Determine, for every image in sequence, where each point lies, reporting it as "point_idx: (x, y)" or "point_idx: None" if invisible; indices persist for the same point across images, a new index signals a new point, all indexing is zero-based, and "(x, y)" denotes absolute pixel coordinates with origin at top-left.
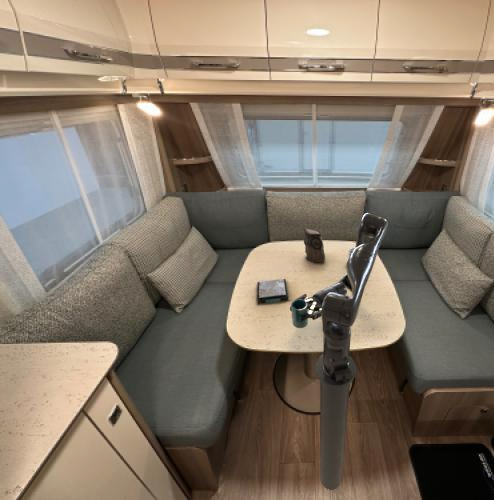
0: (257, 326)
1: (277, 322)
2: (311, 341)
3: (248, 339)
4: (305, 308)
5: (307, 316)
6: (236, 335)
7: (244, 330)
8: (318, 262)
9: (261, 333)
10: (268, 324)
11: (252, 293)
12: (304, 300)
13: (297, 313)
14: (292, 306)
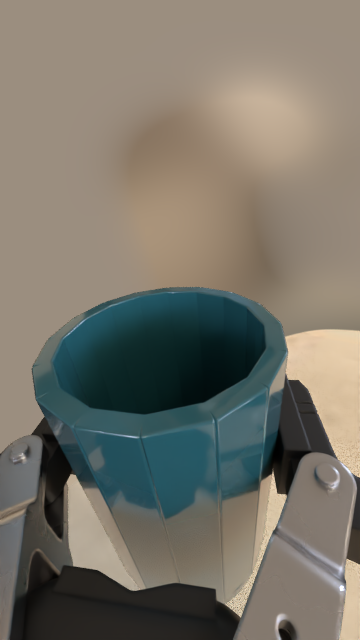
0: (355, 385)
1: (354, 470)
2: (73, 537)
3: (291, 346)
4: (45, 355)
5: (43, 422)
6: (329, 332)
7: (347, 350)
8: None
9: (300, 381)
10: (353, 424)
11: None
12: (162, 429)
13: (127, 336)
14: (196, 291)
